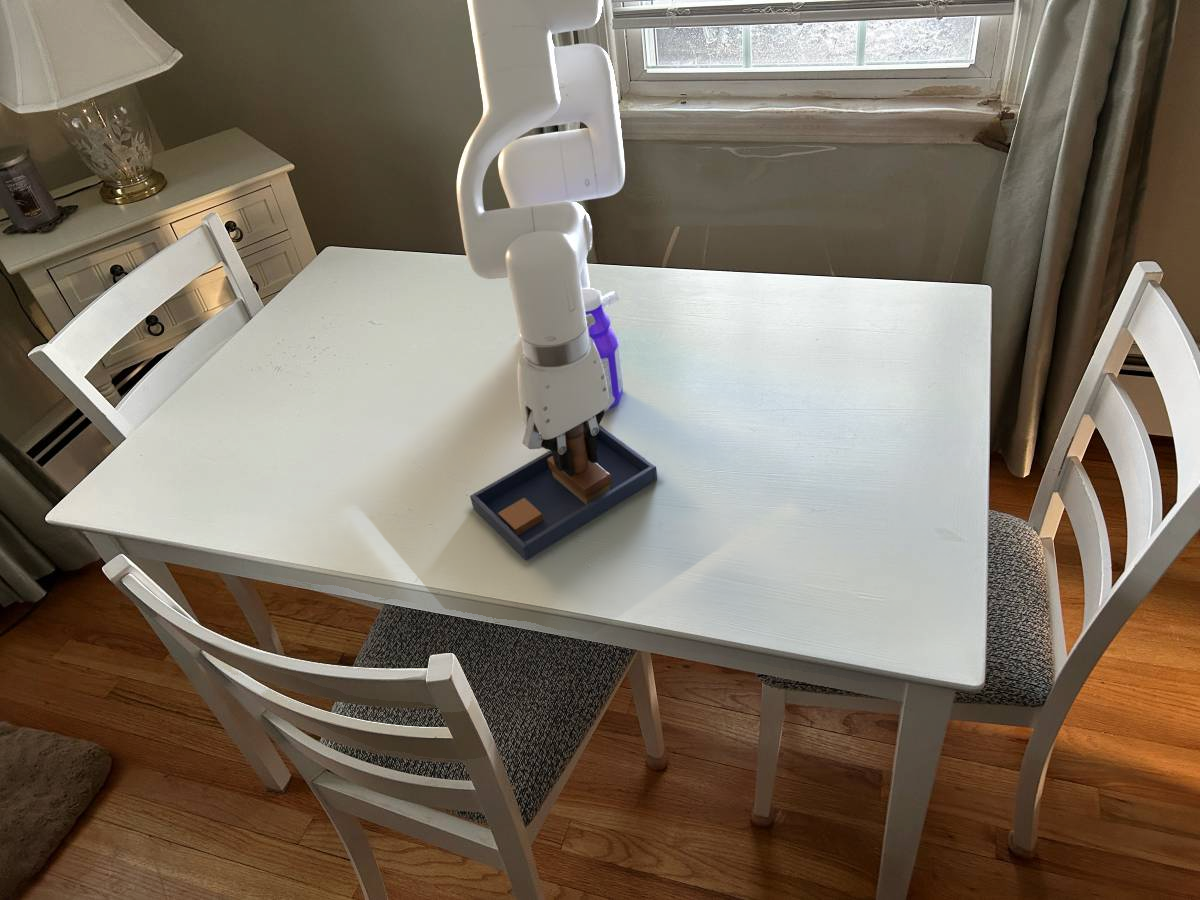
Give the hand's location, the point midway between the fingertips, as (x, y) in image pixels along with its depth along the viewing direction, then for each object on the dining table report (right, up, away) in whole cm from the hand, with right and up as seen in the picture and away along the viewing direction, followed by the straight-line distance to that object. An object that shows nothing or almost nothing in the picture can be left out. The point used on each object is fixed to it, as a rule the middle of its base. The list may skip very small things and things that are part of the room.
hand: (577, 462), depth 113 cm
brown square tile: (-7, -7, -1) cm, 10 cm away
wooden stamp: (0, -3, +2) cm, 4 cm away
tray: (-1, -4, +2) cm, 5 cm away
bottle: (+3, +9, +16) cm, 19 cm away
